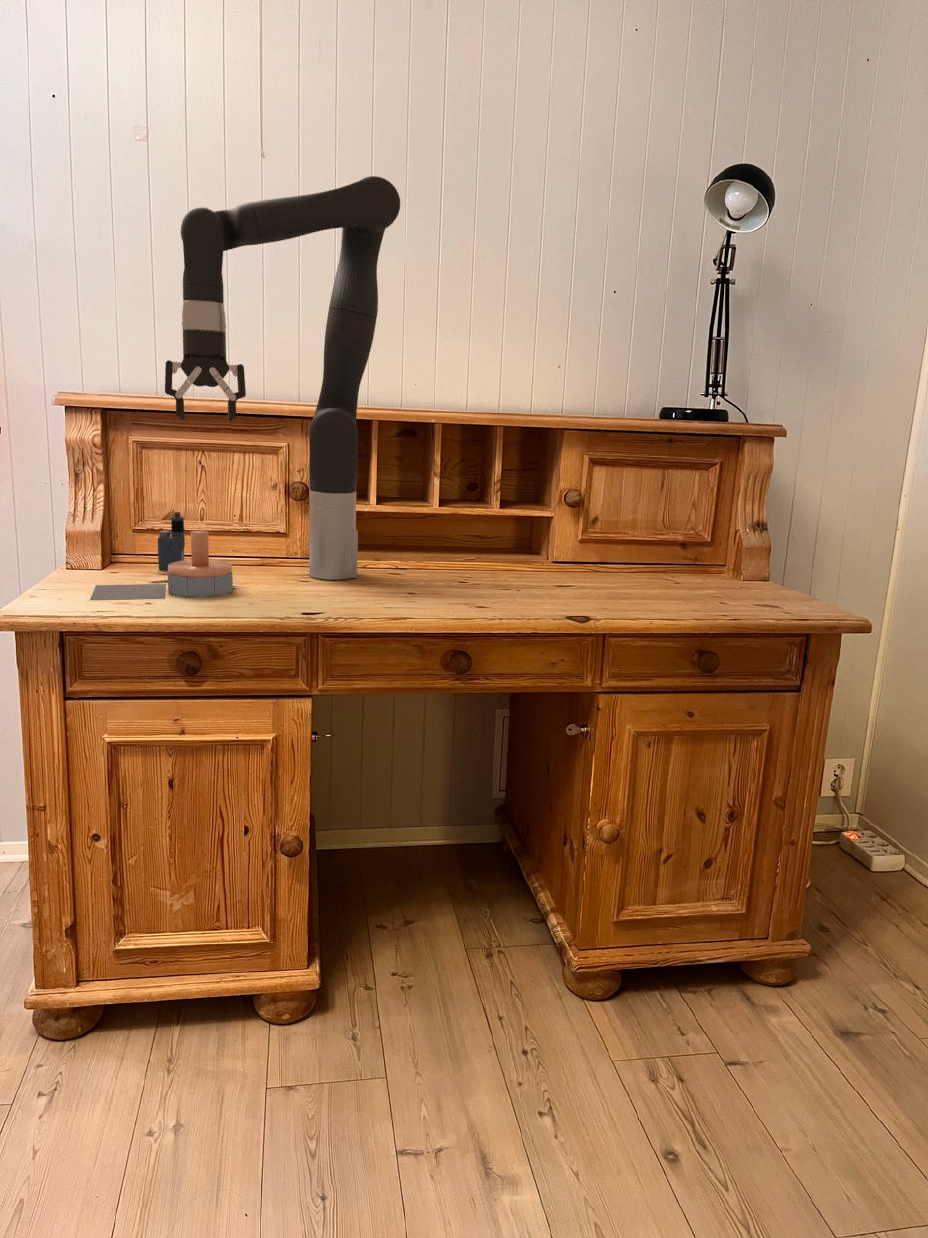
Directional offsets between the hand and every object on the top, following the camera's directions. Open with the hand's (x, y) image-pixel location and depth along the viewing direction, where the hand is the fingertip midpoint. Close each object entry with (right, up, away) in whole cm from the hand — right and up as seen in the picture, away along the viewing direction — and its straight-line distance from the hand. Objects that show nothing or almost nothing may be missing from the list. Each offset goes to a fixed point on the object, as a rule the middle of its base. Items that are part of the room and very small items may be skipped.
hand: (206, 420), depth 166 cm
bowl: (0, -32, -4) cm, 32 cm away
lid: (0, -28, -5) cm, 29 cm away
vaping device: (-10, -28, +13) cm, 32 cm away
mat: (-11, -32, -8) cm, 35 cm away
